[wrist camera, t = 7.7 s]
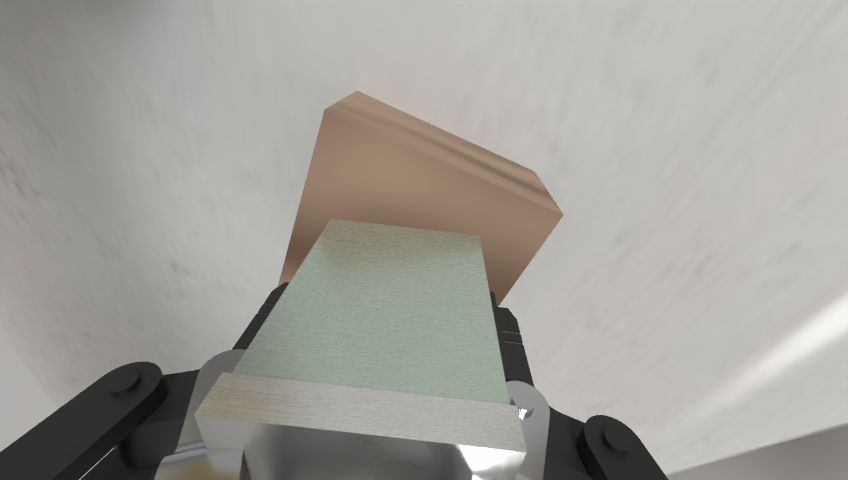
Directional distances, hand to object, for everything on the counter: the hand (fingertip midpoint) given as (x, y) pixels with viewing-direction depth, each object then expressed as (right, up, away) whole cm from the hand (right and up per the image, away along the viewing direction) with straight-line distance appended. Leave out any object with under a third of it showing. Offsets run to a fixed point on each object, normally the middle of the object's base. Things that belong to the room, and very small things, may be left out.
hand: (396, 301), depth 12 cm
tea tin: (0, 0, +1) cm, 1 cm away
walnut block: (0, +4, +6) cm, 7 cm away
